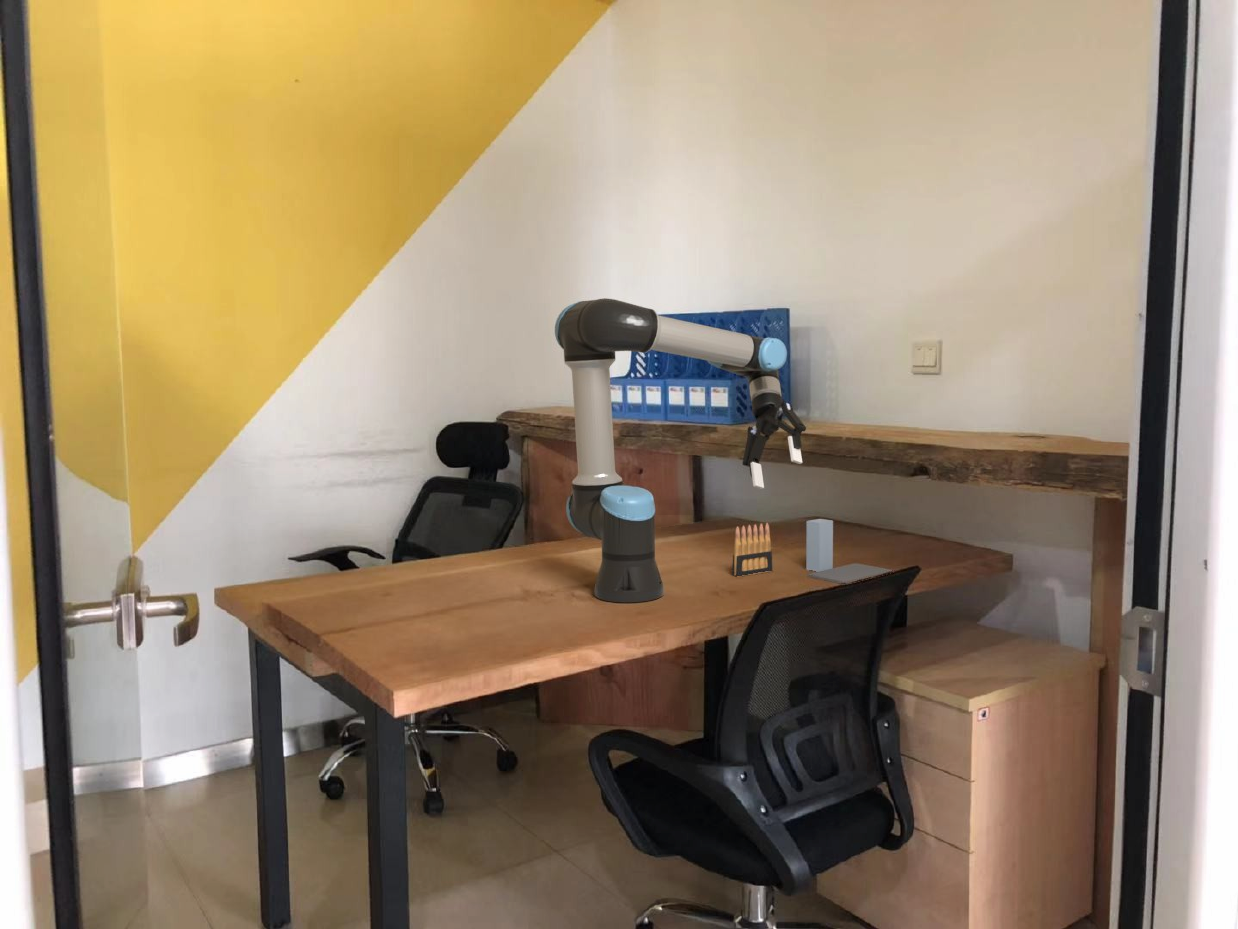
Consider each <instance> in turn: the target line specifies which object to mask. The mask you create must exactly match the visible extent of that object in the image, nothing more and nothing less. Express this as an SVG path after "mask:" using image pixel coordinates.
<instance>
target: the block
mask: <svg viewBox="0 0 1238 929" xmlns="http://www.w3.org/2000/svg"><path fill="white" fill-rule="evenodd" d="M805 539H806V542H805V543H806V549H805V551H806V554H805V555H806V557H805V559H806V569H805V570H806V571H809V570H813V571H812V572H814V571H816V572H819V571H823V570H827V569H832V568H834V563H833V562H834V559H833V558H834V541H833V540H834V520H830V519H824V518H816V519H811V520H807V521H806V538H805Z"/></svg>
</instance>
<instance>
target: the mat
mask: <svg viewBox="0 0 1238 929" xmlns="http://www.w3.org/2000/svg"><path fill="white" fill-rule="evenodd" d="M892 570H893V569H890V568H884V567H880V566H874V565H873V566H872V565H867V564H863V563H857V562H854V563H849V564H846V565H841V566H840V565H839V566H838V567H837V566H836V567H833V568H832V569H827V570H823V571H819V572H814V571H813V572H812V573H807V577H808V578H812V579H813V578H814V579H817V580H822V581H825V582H832V583H837V584H841V583H848V582H853V581H857V580H859V579H864V578H867V577H873V576H876V575H879V574H883V573H886V572H889V571H892Z"/></svg>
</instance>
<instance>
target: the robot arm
mask: <svg viewBox="0 0 1238 929" xmlns="http://www.w3.org/2000/svg"><path fill="white" fill-rule="evenodd" d="M554 336H555V340H556V342H557V344H558V345H559V347H560V348H561V349H562V350H563V358H564V359H563V360H564V364H565V365H566V366H567V367H569V369H571V370H570V371H571V379H572V382H571V383H572V394H573V410H574V427H575V428H574V429H575V446H576V459H577V475H576V476H575V477H574V479H573V480H572V481H571V486H572V491H571V494H570V495H569V496H568V497H567V500H566V505H565V507H566V508H565V511H566V512H565V513H566V517H567V519H568V521H569V524H570V525H571V526H572V527H573V529H575V530H576V531H577V532H579V533H581V534H582V535H584V536H585V537H588V538H592V539H596V540H599V541H601V563H600V567H599V570H598V573H597V574H598V575H597V578H596V582H595V584H594V596H595V598H597V599H599V600H602V601H605V602H606V601H607V602H615V603H641V602H643V603H644V602H648V601H649V602H650V601H654V600H656V599H657V600H658V599H659V598H662V597H663V596H664V582H663V580H662V577H661V573H660V571H659V567H658V565H657V561H656V544H655V543H656V540H655V539H656V538H655V536H656V532H655V531H656V527H655V526H656V525H655V522H656V521H655V518H656V516H655V515H656V506H655V498H654V496H653V494H652V492H650V491H649V490H648V489H646V488H642V487H639V486H632V485H624V484H623V478H622V477H621V476H620V475H619V474H618V473H617V472H616V462H615V447H614V446H615V444H614V430H613V429H614V427H613V410H612V409H613V408H612V407H613V406H612V394H611V393H612V392H611V374H610V373H611V372H610V371H611V370H610V367H611V366H612V365H613V363H615V362H616V352H637V353H641V354H646V353H648V352H649V351H656V352H662V353H666V354H667V353H668V354H672V355H678V356H682V357H688V358H693V359H698V360H704V361H707V363H708V364H709V365H711V366H713V367H715V368H717V369H721V370H724V371H727V372H730V373H732V374H736V375H737V376H740V377H744V378H747V380H748V387H749V396H750V401H751V409H752V415H753V416H754V419H755V420H756V422H755V425H754V426H748V427H747V439H746V444H745V449H744V455H743V460H742V465H743V466H745V467H749V473H750V477H751V478H752V485H753V488H756V489H760V490H763V489H764V488H765V484H764V477H763V469H762V464H760V460H761V457H762V454H763V451H764V449H765V446H766V444H767V441H769V440H770V436H772V435H773V434H774V433H775V432H777V431H779V429H781V430H783V431H784V432H786V433H787V434H788V435H789V436H787V441H788V448H789V455H790V461H791V463H795V464H799V465H801V464H803V458H802V451H801V448H802V440H801V436H802V433H803V432H806V430H807V426H805V424H804V423H803V421H802V420H801V419H800V418H799V417H798V415H797V414H796V412H795V411H794V408H793V405H792V404H791V403H788V402H785V401H783V396H782V390H781V384H780V376H779V375H780V374H779V369H781V368H782V367H784V365H785V363H786V362H787V357H788V356H787V355H788V351H787V347H786V345H785V343H784V342H783V341H782V340H781V339H779V338H775V337H758V336H755V335H748V334H746V333H741V332H736V331H732V330H726V329H723V328H718V327H712V326H708V325H704V324H699V323H694V322H692V321H685V320H681V319H678V318H677V319H676V318H672V317H667V316H664V315H658V313H657V312H656V311H655V309H652V308H650V307H649V308H648V307H643V306H641V305H637V304H633V303H630V302H625V301H623V300H618V299H614V298H607V297H605V298H604V297H603V298H598V299H591V300H589V299H588V300H582V301H577V302H575V303H572V304H569V305H568V306H566V307H564V308H563V310H561V312H560V314H559V315H558V317H557V318H556V320H555V324H554ZM784 416H785V417H786V418H787V420H788V421H789V422H790V424H791V425H792V426H791V425H789V424H788V423H787V422H786V421H784V420H783V417H784ZM761 434H763V435H761Z"/></svg>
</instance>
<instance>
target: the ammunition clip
mask: <svg viewBox="0 0 1238 929" xmlns="http://www.w3.org/2000/svg"><path fill="white" fill-rule="evenodd" d="M763 526H764V525H763V523H760V525H759V527H757V524H756V523H755V524H754V525H753V530H752V526H751V525H750V524H748V526H747V530H746V527H745V525H742V527H741V532H740V527H739V525H738V526H736V528H735V532H734V542H733V543H734V544H733V554H732V574H731V575H732V577H735V576H742V575H748V574H753V573H758V572H765V571H772V572H773V552H772V548H771V547H772V543H771V535H770V534H771V531H770V525H769V523H768V522H766V523H765V527H763ZM748 576H749V575H748ZM742 577H743V576H742Z"/></svg>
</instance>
